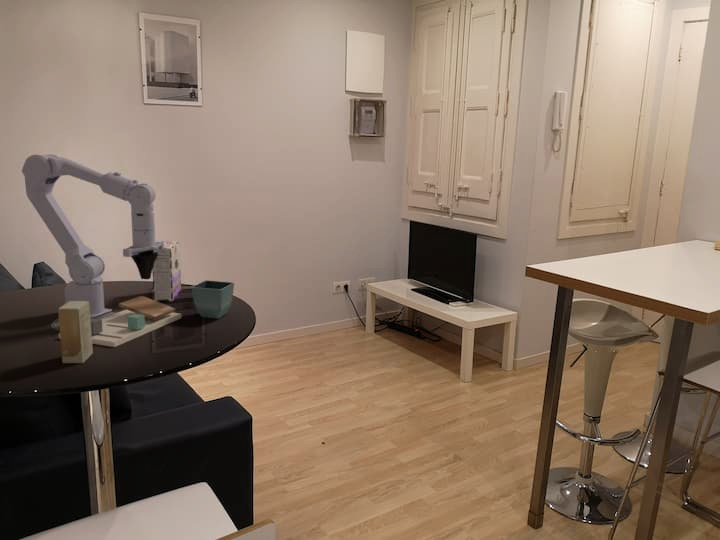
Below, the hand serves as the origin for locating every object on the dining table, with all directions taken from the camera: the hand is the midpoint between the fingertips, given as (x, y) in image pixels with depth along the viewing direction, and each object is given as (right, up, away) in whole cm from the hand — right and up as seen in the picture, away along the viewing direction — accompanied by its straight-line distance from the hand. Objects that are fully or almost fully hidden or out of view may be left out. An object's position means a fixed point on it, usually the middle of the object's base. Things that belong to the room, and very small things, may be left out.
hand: (145, 278), depth 159 cm
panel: (-1, -12, -11) cm, 17 cm away
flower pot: (+18, -11, +1) cm, 21 cm away
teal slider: (+4, -12, -16) cm, 20 cm away
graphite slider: (-5, -13, -21) cm, 25 cm away
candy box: (-1, -6, +22) cm, 23 cm away
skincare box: (-2, -17, -33) cm, 38 cm away
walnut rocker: (+3, -8, -6) cm, 10 cm away
